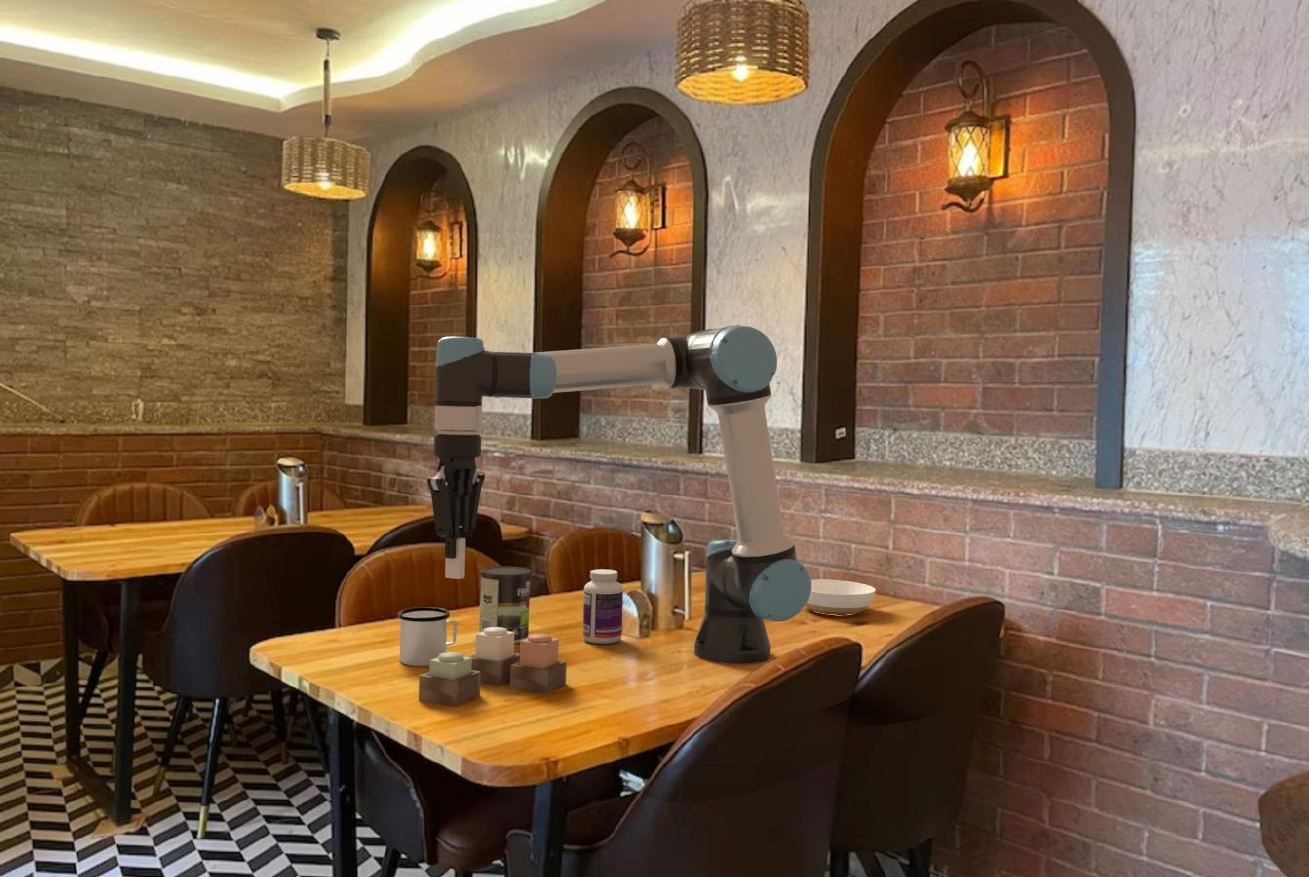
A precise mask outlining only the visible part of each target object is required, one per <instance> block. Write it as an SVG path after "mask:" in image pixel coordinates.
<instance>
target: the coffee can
mask: <svg viewBox="0 0 1309 877" xmlns="http://www.w3.org/2000/svg"><path fill="white" fill-rule="evenodd" d="M531 576H532V570H531V569H529V568H526V567H519V566H505V565H504V566H489V567H485V568H482V569H480V598H479V626H478V627H479V631H478V633H481V632H484V629H485V628H490V627H501V628H505V629H507V631H510V632H514V645H516V644H520V641H522V640H524V639H527V638H528V636H529V635H530V634H529V633H530V632H529V631H530V630H529V629H530V628H529V627H530V601H531V600H530V597H531Z"/></svg>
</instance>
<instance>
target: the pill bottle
mask: <svg viewBox="0 0 1309 877" xmlns="http://www.w3.org/2000/svg"><path fill="white" fill-rule="evenodd" d="M589 572H590V573H589V578H590V579H591V580H590V581H589V582H587V583H585V585H584V586H583V606H582V607H583V610H582V611H583V614H582V617H583V618H582V638H583V640H584V641H585V642H587V643H590V644H593V645H594V644H595V645H612V644H615V643H618V642H619V641H620V640H621V639H622V636H623V634H622V633H623V630H622V629H623V595H624V588H623V586H622V584H621V583H620V582H618V581H617V580H618V571H616V570H614V569H603V568H602V569H601V568H600V569H593V570H590V571H589Z"/></svg>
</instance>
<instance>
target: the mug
mask: <svg viewBox="0 0 1309 877" xmlns="http://www.w3.org/2000/svg"><path fill="white" fill-rule="evenodd" d="M450 616H451V612H450V611H449V610H448V609H446V608H442V607H432V606H431V607H429V606H423V607H422V606H420V607H419V606H418V607H410V608H404V609H402V610H400V611H398V612H397V618H398V619H399V620H400V635H399V638H400V639H399V662H400V663H402V664H404V665H406V666H411V667H430V660H432V659H434V658H437V657H438V656H439V654H441V653H446V652H447V647H448V646H453V645H454V644H455V643H456V640H457V633H458V632H457V631H458V628H457V627H458V622H457V621H456V620H454V619H449V618H450ZM450 623H452V624H453V627H452V628H453V632H452V640H451V641H450V642H447V635H448V634H447V633H448V632H447V627H448V626H447V624H450Z"/></svg>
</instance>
